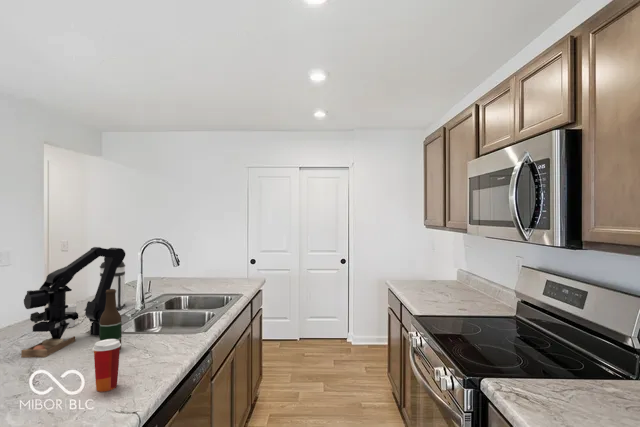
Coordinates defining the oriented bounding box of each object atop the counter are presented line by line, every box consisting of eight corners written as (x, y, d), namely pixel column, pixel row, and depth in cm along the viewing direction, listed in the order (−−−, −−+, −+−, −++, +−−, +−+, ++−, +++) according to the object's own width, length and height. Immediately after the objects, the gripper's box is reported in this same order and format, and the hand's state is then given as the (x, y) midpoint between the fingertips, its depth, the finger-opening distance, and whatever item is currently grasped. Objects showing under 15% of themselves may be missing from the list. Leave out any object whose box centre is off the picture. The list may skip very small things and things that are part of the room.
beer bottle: (96, 355, 142) (96, 292, 142) (102, 348, 150) (102, 288, 150) (118, 353, 144) (119, 291, 144) (123, 346, 152) (124, 287, 152)
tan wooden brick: (63, 346, 148) (63, 338, 148) (59, 348, 146) (59, 340, 146) (46, 346, 148) (46, 339, 148) (42, 348, 145) (42, 341, 145)
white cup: (59, 330, 172) (60, 308, 173) (53, 327, 177) (53, 306, 177) (78, 326, 179) (79, 305, 179) (72, 323, 184) (72, 303, 184)
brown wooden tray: (75, 343, 154) (75, 335, 154) (45, 359, 137) (45, 350, 137) (54, 343, 154) (54, 335, 154) (21, 360, 137) (21, 350, 137)
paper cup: (114, 379, 121) (115, 336, 121) (125, 386, 116) (125, 341, 116) (87, 388, 115) (88, 342, 115) (97, 396, 110) (97, 348, 110)
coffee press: (134, 307, 215) (134, 255, 215) (106, 313, 202) (106, 258, 202) (117, 303, 224) (117, 253, 225) (89, 309, 211) (90, 256, 211)
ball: (38, 346, 139) (40, 357, 139) (47, 342, 143) (49, 352, 143) (28, 348, 139) (30, 358, 139) (37, 344, 143) (39, 354, 143)
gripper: (52, 298, 159) (52, 335, 159) (18, 309, 140) (17, 351, 140) (79, 298, 159) (78, 335, 159) (48, 309, 140) (47, 351, 140)
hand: (56, 342), depth 149 cm, fingers closed
